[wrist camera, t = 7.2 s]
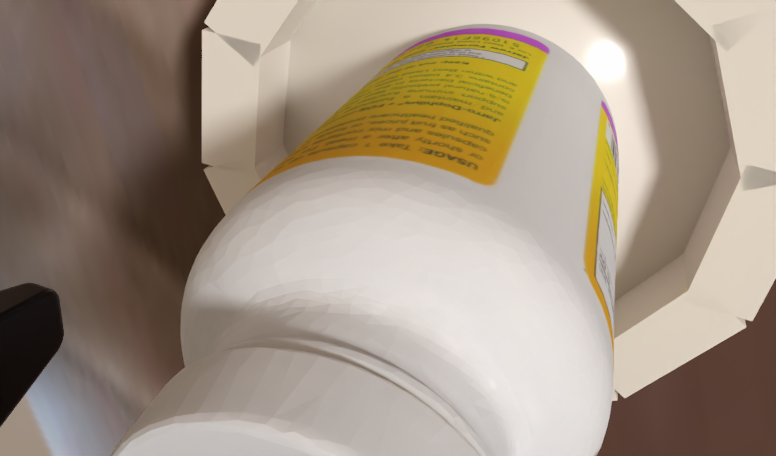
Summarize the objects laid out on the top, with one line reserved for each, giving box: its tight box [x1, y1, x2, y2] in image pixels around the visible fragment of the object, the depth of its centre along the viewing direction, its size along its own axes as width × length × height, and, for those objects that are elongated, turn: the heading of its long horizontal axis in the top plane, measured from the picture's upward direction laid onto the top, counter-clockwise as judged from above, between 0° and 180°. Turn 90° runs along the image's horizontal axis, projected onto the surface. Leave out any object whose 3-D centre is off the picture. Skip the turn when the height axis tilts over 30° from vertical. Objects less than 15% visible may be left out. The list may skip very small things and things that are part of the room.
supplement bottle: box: [111, 24, 619, 456], centre depth 13 cm, size 7×7×13 cm
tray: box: [202, 0, 776, 401], centre depth 18 cm, size 16×16×3 cm
